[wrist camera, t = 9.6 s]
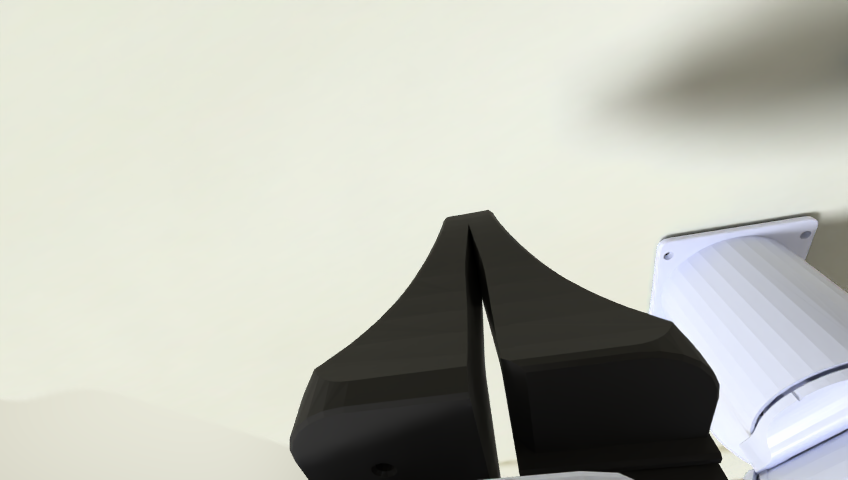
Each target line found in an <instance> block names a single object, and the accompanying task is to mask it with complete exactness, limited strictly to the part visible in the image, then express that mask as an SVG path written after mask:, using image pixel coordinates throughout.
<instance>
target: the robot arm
mask: <svg viewBox="0 0 848 480" xmlns="http://www.w3.org/2000/svg"><path fill="white" fill-rule="evenodd" d="M817 227H818V221H817V220H816V219H814V218H813V217H811V216H804V217H798V218H791V219H785V220H779V221H772V222H766V223H760V224H754V225H747V226H741V227H735V228H728V229H722V230H716V231H709V232H703V233H697V234H691V235H684V236H678V237H672V238H666V239H663V240H662V241H660V243H659V244H658V246H657V252H656V260H655V269H654V277H653V286H652V294H651V303H650V311H649V314H647V313H644V312H641V311H638V310H634V309H631V308H628V307H626V306H623V305H621V304H618V303H616V302H613V301H611V300H608V299H606V298H603V297H601V296H599V295H597V294H595V293H592V292H590V291H588V290H586V289H584V288H582V287H580V286H579V285H577V284H575V283H573V282H571V281H569V280H567V279H565V278H564V277H562V276H560V275H559V274H557V273H556V272H554V271H553V270H551V269H550V268H549V267H547V266H546V265H544V264H543V263H542V262H540V261H539V260H538V259H537V258H535V257H534V256H533V255H532V254H530V253H529V252H528V251H527V250H526V249H525V248H524V247H522V246H521V245H520V244H519V243H518V242H517V241H516V240H515V239H514V238H513V237H512V236H511V235H510V234H509V233H508V232H507V231H506V230H505V228H504V227H503V226H502V225H501V224H500V223H499V221H498V220H497V219H496V217H495V216H494V214H493V213H492V212H491V211H489V210H486V211H480V212H475V213H469V214H463V215H458V216H452V217H447V218H446V219H445V220H444V222H443V225H442V228H441V230H440V233H439V235H438V237H437V239H436V242H435V244H434V246H433V248H432V249H431V251H430V253H429V255H428V257H427V259H426V261H425V262H424V264H423V265H422V267H421V269H420V270H419V272H418V273H417V275H416V277H415V278H414V280H413V281H412V282H411V284H410V285H409V287H408V288H407V289H406V290H405V292H404V293H403V294H402V295H401V297H400V298H399V299H398V300H397V301H396V303H395V304H394V305H393V306H392V307H391V308H390V309H389V310H388V311H387V312H386V313H385V314H384V315H383V316H382V317H381V318H380V319H379V320H378V321H377V322H376V323H375V324H374V325H373V326H371V327H370V328H369V329H368V330H367V331H366V332H365V333H363V334H362V335H361V336H360V337H359V338H357V339H356V340H355V341H354V342H352V343H351V344H350V345H348V346H347V347H346V348H344V349H343V350H342V351H340V352H339V353H337V354H336V355H334V356H333V357H332V358H330V359H329V360H327V361H326V362H325V363H323V364H322V365H320V366H319V367H317V368H316V369H314V371H313V374H312V376H311V379H310V381H309V383H308V385H307V388H306V390H305V393H304V396H303V398H302V401H301V404H300V408H299V411H298V414H297V417H296V420H295V424H294V427H293V430H292V433H291V436H290V451H291V453H292V455H293V457H294V459H295V461H296V463H297V464H298V466H299V467H300V468H301V470H302V471H303V472H304V474H305V475H306V477H307V478H308V480H728V479H727V477H726V475H725V474H724V472H723V470H722V468H721V467H720V465H719V463H721V461H722V456H721V452H720V451H719V449H718V447H717V446H716V444H715V442H714V441H713V439H712V437H711V436H710V434H709V430H710V431H711V432H712V434H713V435H714V436H715V437H716V439H717V440H718V441H719V442H720V443H721V444H722V445H723V446H725V447H726V448H727V449H728V450H729V451H731V452H732V453H733V454H735V455H736V456H737V457H739V458H740V459H742V460H744V461H745V462H747V463H749V464H751V466H752V467H753V469H752V470H749V471H748V472H746V474H745V475H744V477H743V480H848V293H847V292H846V291H844V290H843V289H842V288H840V287H839V286H838V285H836V284H835V283H834V282H832V281H831V280H830V279H828V278H827V277H826V276H824V275H823V274H822V273H821V272H819V271H818V270H817V269H815V268H814V267H813V266H811V265H810V264H809V263H807V262H806V261H805V259H806V256H807V254H808V251H809V248H810V246H811V243H812V240H813V238H814V235H815V232H816V229H817ZM803 232H804V233H803ZM802 233H803V234H802ZM668 252H670V253H669V254H668V255H666V256H664V255H665V254H666V253H668ZM482 300H483V303H484V307H485V311H486V314H487V318H488V322H489V325H490V329H491V332H492V336H493V340H494V343H495V347H496V351H497V354H498V358H499V362H500V366H501V371H502V375H503V381H504V387H505V393H506V398H507V404H508V410H509V416H510V421H511V427H512V433H513V439H514V445H515V450H516V456H517V462H518V468H519V473H520V476H519V477H507V478H501V477H500V470H499V463H498V457H497V450H496V443H495V436H494V429H493V422H492V415H491V408H490V401H489V394H488V387H487V380H486V371H485V357H484V332H483V308H482Z"/></svg>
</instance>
